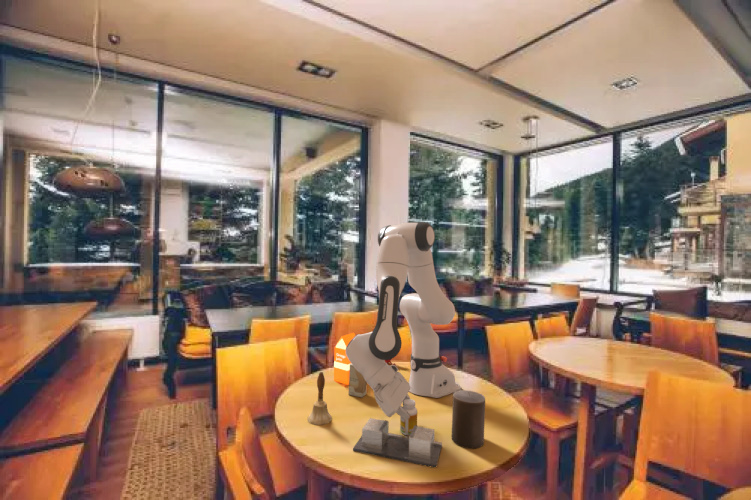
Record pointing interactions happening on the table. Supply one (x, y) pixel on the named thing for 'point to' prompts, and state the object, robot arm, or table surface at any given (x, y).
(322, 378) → the hand bell
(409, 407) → the supplement bottle
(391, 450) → the rail plate
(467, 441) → the pillar candle
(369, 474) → the table surface
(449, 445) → the table surface
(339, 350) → the orange juice
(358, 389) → the skincare box
